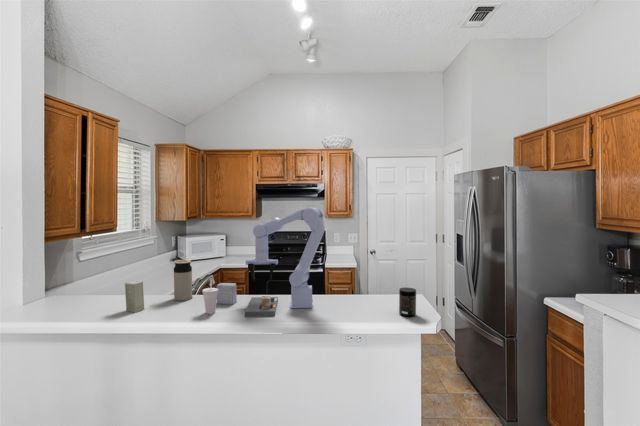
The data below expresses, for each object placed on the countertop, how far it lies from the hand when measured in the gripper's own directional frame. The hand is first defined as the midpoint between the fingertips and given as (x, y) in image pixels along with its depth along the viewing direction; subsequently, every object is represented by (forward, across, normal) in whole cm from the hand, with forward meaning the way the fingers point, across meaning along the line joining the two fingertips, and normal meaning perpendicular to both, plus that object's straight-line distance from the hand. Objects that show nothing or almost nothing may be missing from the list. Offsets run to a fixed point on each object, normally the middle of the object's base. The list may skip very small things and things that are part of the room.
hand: (262, 280), depth 158 cm
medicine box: (+10, -16, 0) cm, 19 cm away
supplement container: (+10, +61, -21) cm, 65 cm away
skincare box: (+10, -53, -8) cm, 55 cm away
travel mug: (+10, -38, +8) cm, 40 cm away
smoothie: (+10, -20, -13) cm, 26 cm away
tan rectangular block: (+10, +3, -13) cm, 17 cm away
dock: (+10, +1, -9) cm, 14 cm away
